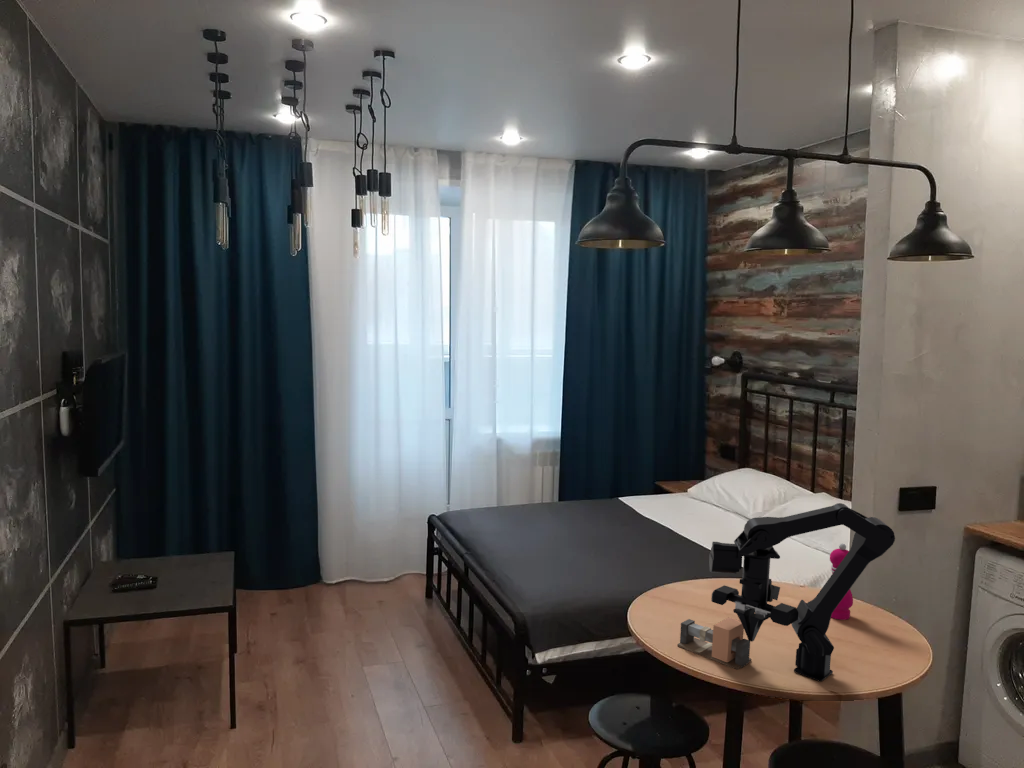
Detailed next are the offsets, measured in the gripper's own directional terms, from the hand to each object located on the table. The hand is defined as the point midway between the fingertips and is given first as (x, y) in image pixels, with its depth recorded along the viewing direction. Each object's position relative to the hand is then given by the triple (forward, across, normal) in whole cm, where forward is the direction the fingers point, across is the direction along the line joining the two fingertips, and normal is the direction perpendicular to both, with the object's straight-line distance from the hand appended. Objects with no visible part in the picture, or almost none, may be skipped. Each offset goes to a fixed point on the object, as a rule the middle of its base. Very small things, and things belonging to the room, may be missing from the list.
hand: (751, 640), depth 177 cm
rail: (+6, +9, 0) cm, 11 cm away
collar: (+6, +6, 0) cm, 9 cm away
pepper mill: (+6, -1, -47) cm, 47 cm away
